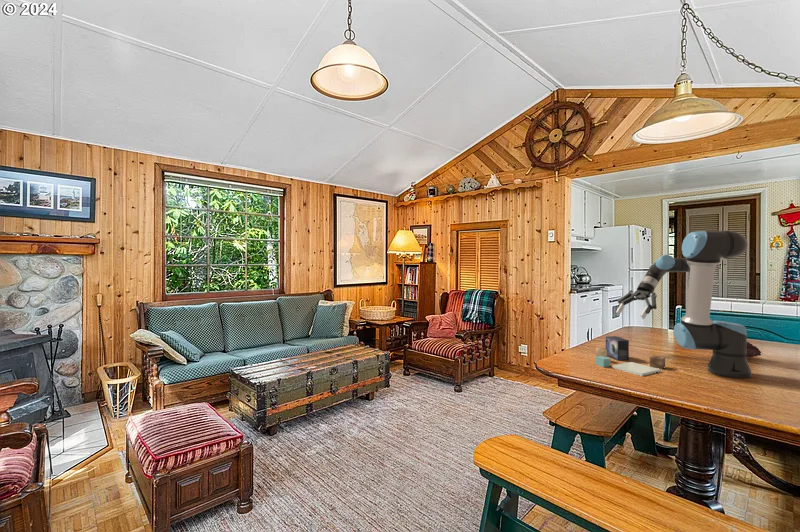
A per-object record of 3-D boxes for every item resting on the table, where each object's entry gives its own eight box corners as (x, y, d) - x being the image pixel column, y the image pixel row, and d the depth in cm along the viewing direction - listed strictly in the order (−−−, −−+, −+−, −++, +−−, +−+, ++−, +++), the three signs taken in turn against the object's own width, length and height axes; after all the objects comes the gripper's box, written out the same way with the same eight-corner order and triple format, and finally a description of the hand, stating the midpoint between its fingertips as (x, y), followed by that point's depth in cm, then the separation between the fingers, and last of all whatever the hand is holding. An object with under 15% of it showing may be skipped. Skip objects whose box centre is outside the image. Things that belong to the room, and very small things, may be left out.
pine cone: (768, 362, 190) (768, 342, 189) (750, 363, 188) (751, 343, 188) (732, 353, 207) (732, 335, 207) (716, 354, 206) (716, 336, 205)
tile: (660, 371, 176) (660, 369, 176) (641, 376, 170) (641, 373, 170) (631, 364, 189) (631, 361, 189) (612, 368, 183) (612, 365, 183)
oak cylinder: (609, 361, 194) (609, 349, 194) (602, 362, 192) (602, 350, 192) (600, 359, 199) (600, 347, 199) (593, 360, 197) (593, 348, 197)
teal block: (610, 366, 185) (610, 358, 185) (603, 367, 184) (603, 359, 184) (602, 364, 190) (602, 356, 190) (595, 364, 189) (595, 356, 189)
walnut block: (665, 367, 183) (665, 357, 183) (661, 369, 180) (662, 359, 180) (653, 365, 187) (653, 355, 187) (649, 367, 184) (649, 357, 183)
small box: (604, 355, 206) (604, 336, 206) (616, 355, 206) (616, 335, 206) (617, 360, 195) (617, 340, 195) (629, 360, 196) (629, 340, 196)
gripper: (674, 292, 201) (656, 323, 196) (628, 288, 224) (611, 316, 218) (668, 283, 199) (650, 314, 193) (622, 280, 221) (605, 307, 216)
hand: (629, 315), depth 206 cm, fingers open, 13 cm apart
